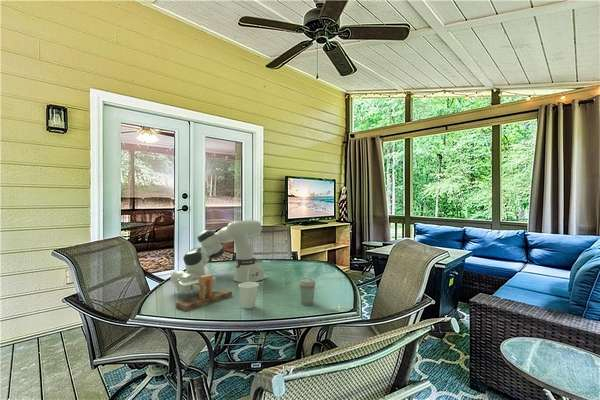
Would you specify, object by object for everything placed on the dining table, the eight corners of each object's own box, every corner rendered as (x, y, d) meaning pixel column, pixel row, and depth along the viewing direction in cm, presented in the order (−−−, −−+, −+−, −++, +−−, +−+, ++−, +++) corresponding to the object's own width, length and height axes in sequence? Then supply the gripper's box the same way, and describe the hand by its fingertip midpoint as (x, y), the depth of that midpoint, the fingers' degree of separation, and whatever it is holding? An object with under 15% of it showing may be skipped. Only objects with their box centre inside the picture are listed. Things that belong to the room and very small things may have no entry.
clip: (208, 296, 157) (208, 274, 157) (212, 298, 155) (212, 275, 155) (198, 299, 152) (198, 276, 152) (202, 301, 150) (203, 277, 150)
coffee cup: (310, 307, 146) (310, 283, 146) (295, 304, 150) (295, 280, 150) (318, 302, 153) (318, 279, 153) (304, 299, 158) (304, 277, 158)
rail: (222, 293, 167) (222, 288, 167) (231, 296, 162) (231, 291, 162) (176, 307, 145) (176, 302, 145) (185, 311, 140) (185, 306, 140)
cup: (254, 311, 141) (254, 288, 141) (234, 309, 143) (235, 286, 143) (261, 304, 151) (261, 282, 151) (242, 302, 153) (243, 281, 152)
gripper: (207, 283, 170) (222, 287, 161) (173, 292, 153) (189, 297, 145) (207, 272, 170) (223, 276, 161) (173, 279, 153) (189, 284, 145)
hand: (206, 286), depth 153 cm, fingers closed on clip, 6 cm apart
